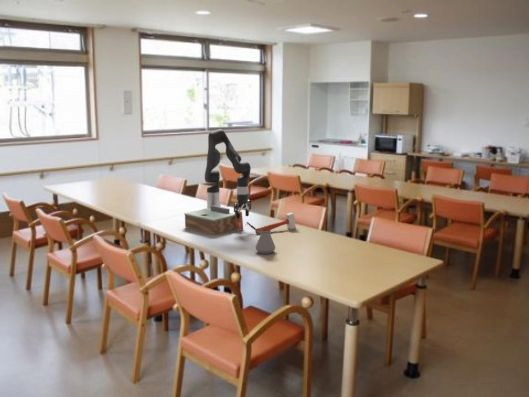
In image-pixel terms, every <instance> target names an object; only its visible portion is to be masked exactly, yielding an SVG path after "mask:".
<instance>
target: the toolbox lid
mask: <svg viewBox="0 0 529 397" xmlns="http://www.w3.org/2000/svg"><path fill="white" fill-rule="evenodd" d="M183 215H184V216H185V215H188V216H192V217H196V218H201V219H205V220H210V221H218V220H222V219H226V218H230V217H234V216H235V213H232V212H230V208H227V207H223V206H221V207H218V206H213V205H212V206H211V209H208V208H207V207H206V208H201V209H198V210H193V211H189V212H185V213H184V214H183Z"/></svg>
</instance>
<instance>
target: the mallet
mask: <svg viewBox="0 0 529 397" xmlns="http://www.w3.org/2000/svg"><path fill="white" fill-rule="evenodd" d="M284 225H286V227H287V229H288V230H293V229H296V226H297V225H296V219H295V213H294V212H288V213H286V214H285V220H282V221H280V222H276V223H271V224H269V225H264V226H262V227H258V228H256V229H257V230H258V231H259V232H260V230H261V229H270V230H271V231H272V230H274V229H277V228H279V227H281V226H284ZM254 231H255V234H256V235H260V234H259V233H258V232H257V231H256V230H254ZM260 233H261V232H260Z"/></svg>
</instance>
